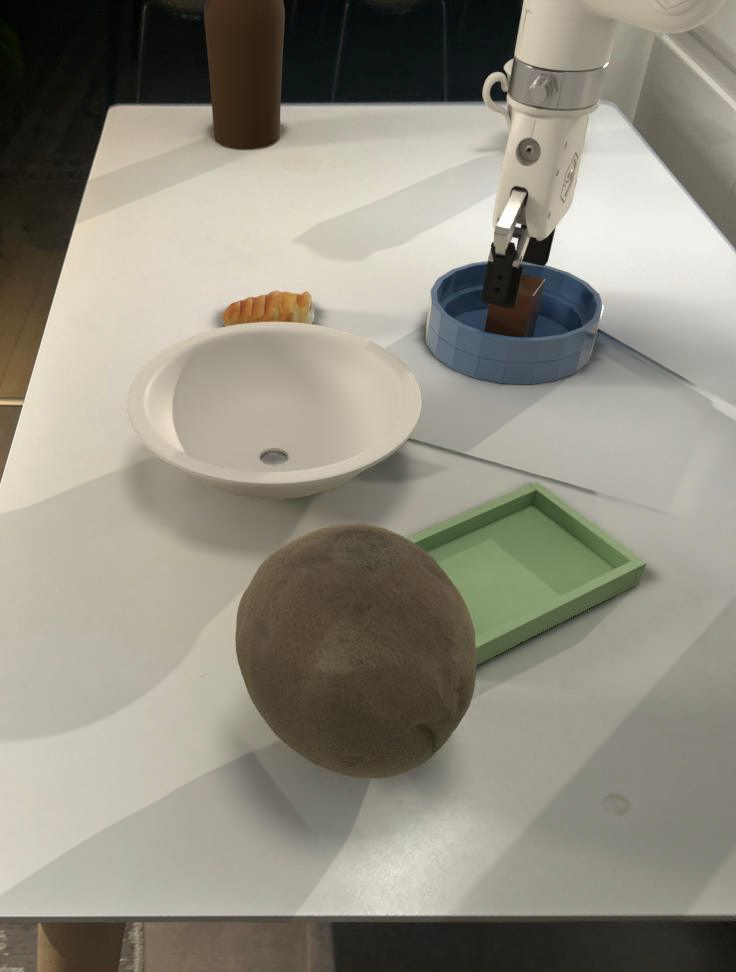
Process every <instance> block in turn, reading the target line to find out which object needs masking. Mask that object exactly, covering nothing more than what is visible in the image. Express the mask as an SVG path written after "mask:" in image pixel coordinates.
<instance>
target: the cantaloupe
mask: <svg viewBox="0 0 736 972" xmlns="http://www.w3.org/2000/svg"><path fill="white" fill-rule="evenodd" d="M406 538H407V537H404V536H403V535H401V534H399V533H396V532H394V531H392V530H389V529H387V528H385V527H380V526H377V525H371V524H365V523H344V524H333V525H329V526H328V525H327V526H324V527H321V528H318V529H315V530H313V531H311V532H308V533H306V534H304V535H301V536H299V537H297V538H295V539H292V540H290V541H289V542H287V543H285V544H283V546H280V547H279V548H278V549H276V550H275V551H274V552H272V553H271V554H270V555H269V556H268V557H267V558H266V559H265V560H264V561H263V562H262V563H261V564H260V565H259V566H258V568H257V569H256V572H255V573H254V575H253V577H252V579H251V580H250V582H249V585H248V586H247V587H246V589H245V590H244V592H243V593H242V595H241V598H240V600H239V604H238V607H237V611H236V621H235V634H234V635H235V638H234V639H235V655H236V659H237V664H238V666H239V667H238V668H239V670H240V674H241V676H242V679H243V682H244V686H245V688H246V691H247V693H248V695H249V697H250V700H251V702H252V704H253V706H254V707H255V709H256V710H257V712H258V714H259V716H260V717H261V718H262V719H263V721H264V722H265V723H266V724H267V726H268V727H269V728H270V730H271V732H273V734H274V735H275V736H276V737H277V738H278V739H279V740H281V741H282V742H283V743H284V744H285V745H286V746H287V747H289V748H290V749H291V750H292V751H293V752H295V753H297V754H298V755H299V756H301V757H303V758H304V759H306V760H307V761H309V762H310V763H312V764H314V765H316V766H318V767H321V768H323V769H324V770H327V771H331V772H333V773H337V774H340V775H343V776H347V777H351V778H357V779H375V780H376V779H377V780H378V779H385V778H386V779H387V778H392V777H395V776H399V775H402V774H404V773H407V772H409V771H411V770H414V769H416V768H418V767H420V766H422V765H423V764H425V763H426V762H427V761H429V760H431V759H432V757H434V756H435V755H436V754H437V752H439V750H440V749H441V748H442V747H443V746H444V745H445V743H447V741H448V740H449V739H450V738H451V736H452V734H453V733H454V732H455V731H456V729H458V726H459V725H460V724H461V722H462V720H463V718H464V717H465V716H466V713H467V711H468V710H469V708H470V706H471V703H472V700H473V696H474V692H475V688H476V679H477V666H476V644H475V631H474V627H473V623H472V620H471V617H470V614H469V611H468V608H467V606H466V604H465V602H464V600H463V598H462V596H461V594H460V592H459V591H458V589H457V588H456V587H455V585H454V584H453V582H452V581H451V580H450V578H449V577H448V575H447V574H446V573H445V572H444V571H443V569H442V568H441V567H440V566H439V565H438V563H437V562H436V561H435V560H434V559H433V558H432V557H431V556H430V555H429V554H428V553H427V552H426V551H425V550H423V549H422V548H421V547H419V546H418V545H416V544H415V543H413V542H411V541H410V540H408V539H406Z"/></svg>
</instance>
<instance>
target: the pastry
mask: <svg viewBox="0 0 736 972" xmlns="http://www.w3.org/2000/svg"><path fill="white" fill-rule="evenodd" d="M221 319H222V323H223V326H224V327H226V326H232V325H238V324H246V323H257V322H294V323H305V324H313V323H314V320H315V309H314V306H313V299H312V294H311V293H310V292H309V291H306V290H305V291H304V292H303V293H297V292H289V291H280V290H273V291H270V292H268V293H267V294H260V295H258V296H256V297H255V296H248V297H246V298H245V299H241V300H238V301H234V302H232V303H230V304H229V305H228V306H227V307H226V309H225V310H224V312H223V313H222V315H221Z"/></svg>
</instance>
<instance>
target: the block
mask: <svg viewBox="0 0 736 972" xmlns="http://www.w3.org/2000/svg"><path fill="white" fill-rule="evenodd" d="M544 284H545V279H543V278H538V277H534V276H529V275H524V274H523V275H522V279H521V284H520V289H519V294H518V298H517V303H516V305H515V306H514V308H512V309H509V308H505V307H501V306H497V305H493V304H489V307H488V313H487V318H486V324H485V330H484V332H487V333H493V334H498V335H503V336H509V337H531V338H532V337H533V335H534V331H535V326H536V321H537V317H538V312H539V307H540V303H541V298H542V293H543V289H544Z"/></svg>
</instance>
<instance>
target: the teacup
mask: <svg viewBox="0 0 736 972" xmlns="http://www.w3.org/2000/svg"><path fill="white" fill-rule="evenodd" d="M513 59H514V58H511V59H510V60H508V61H507V62H506V63H505V64H504V65H503V70H504V71H505V73H506V75H507V77H506V75H505V74H504V73H503V72H500V71H495V72H492V73H491V74H489V75H488V76H487V78H486V79H485V81H484V84H483V87H482V99H483V102H484V105H486V107H487V108H488V109H489V110H491V111H493V112H496V113H499V114H501V115H502V116H503V117H504V119H505V121H506V126H507V129H508V131H509V133H510V129H511V125H512V121H513V117H514V113H515V109H516V108H514V107H512V106H511V105H510V104H509V103H508V102H507V101H506V108H504V106H501V105H500V104H498V103H496V102H495V101H493V99H492V97H491V89H492V87H493V85H494V84H495V83H497V82H500V88H501V90H502V92H504V93H506V92H508V88H509V82H510V76H511V70H512V65H513Z"/></svg>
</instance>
